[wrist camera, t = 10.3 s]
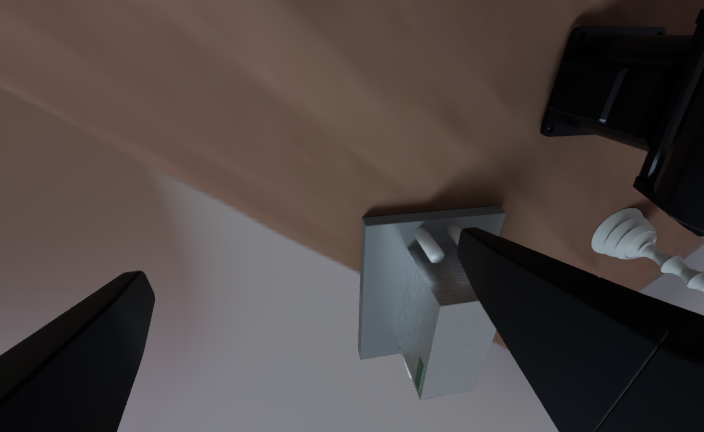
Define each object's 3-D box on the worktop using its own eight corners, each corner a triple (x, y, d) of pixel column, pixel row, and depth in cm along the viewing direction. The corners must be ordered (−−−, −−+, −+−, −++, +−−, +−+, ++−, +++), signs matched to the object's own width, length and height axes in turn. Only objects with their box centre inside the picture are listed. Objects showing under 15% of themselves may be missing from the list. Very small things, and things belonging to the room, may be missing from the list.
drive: (461, 241, 25) (508, 296, 19) (442, 328, 30) (474, 389, 25) (406, 247, 24) (439, 306, 19) (395, 335, 29) (419, 400, 24)
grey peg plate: (496, 205, 25) (532, 234, 21) (461, 332, 32) (483, 369, 29) (362, 217, 23) (376, 251, 20) (358, 349, 31) (367, 390, 27)
